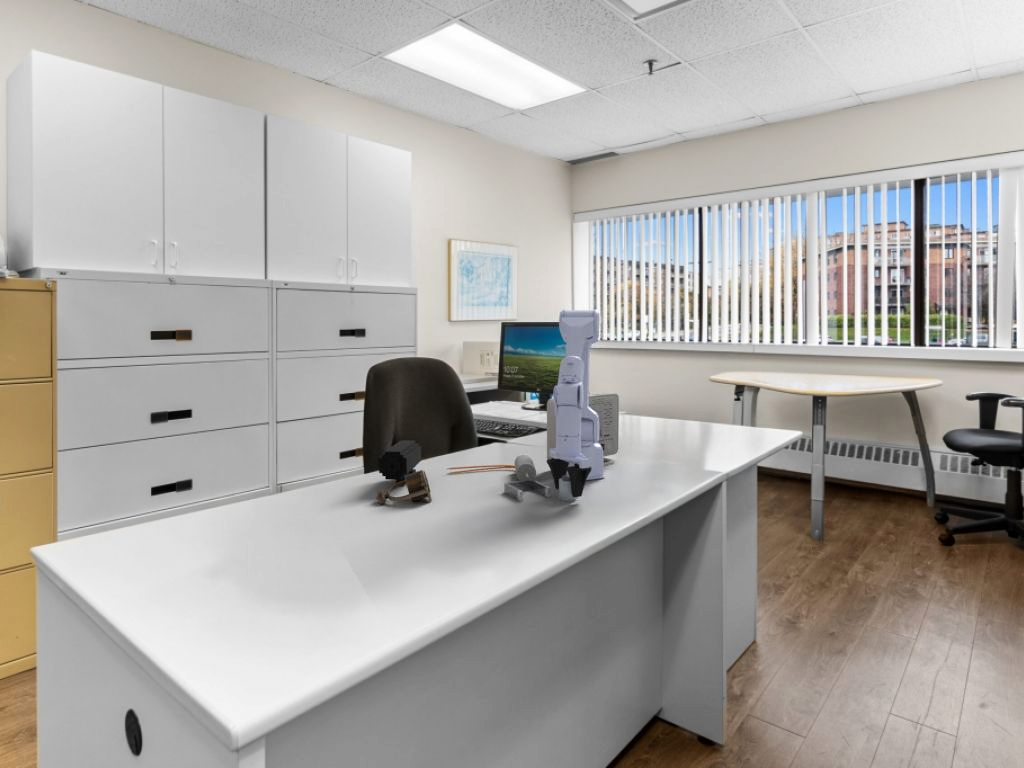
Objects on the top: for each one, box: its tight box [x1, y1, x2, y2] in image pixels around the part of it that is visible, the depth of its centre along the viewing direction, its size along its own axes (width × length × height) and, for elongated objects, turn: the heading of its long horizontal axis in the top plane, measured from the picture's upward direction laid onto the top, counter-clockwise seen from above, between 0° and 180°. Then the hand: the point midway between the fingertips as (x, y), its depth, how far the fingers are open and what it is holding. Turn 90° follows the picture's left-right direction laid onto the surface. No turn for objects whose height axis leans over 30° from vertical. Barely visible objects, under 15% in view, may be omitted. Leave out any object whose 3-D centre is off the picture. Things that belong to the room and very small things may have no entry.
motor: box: [446, 453, 537, 481], centre depth 165 cm, size 23×22×5 cm
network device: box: [546, 392, 620, 467], centre depth 180 cm, size 26×9×20 cm, turn 130°
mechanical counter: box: [375, 469, 433, 505], centre depth 146 cm, size 7×13×10 cm
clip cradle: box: [503, 479, 552, 502], centre depth 150 cm, size 8×9×2 cm
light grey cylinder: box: [558, 475, 579, 502], centre depth 146 cm, size 4×4×5 cm
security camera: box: [378, 439, 422, 487], centre depth 162 cm, size 7×18×10 cm, turn 174°
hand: (568, 492), depth 147 cm, fingers open, 7 cm apart
